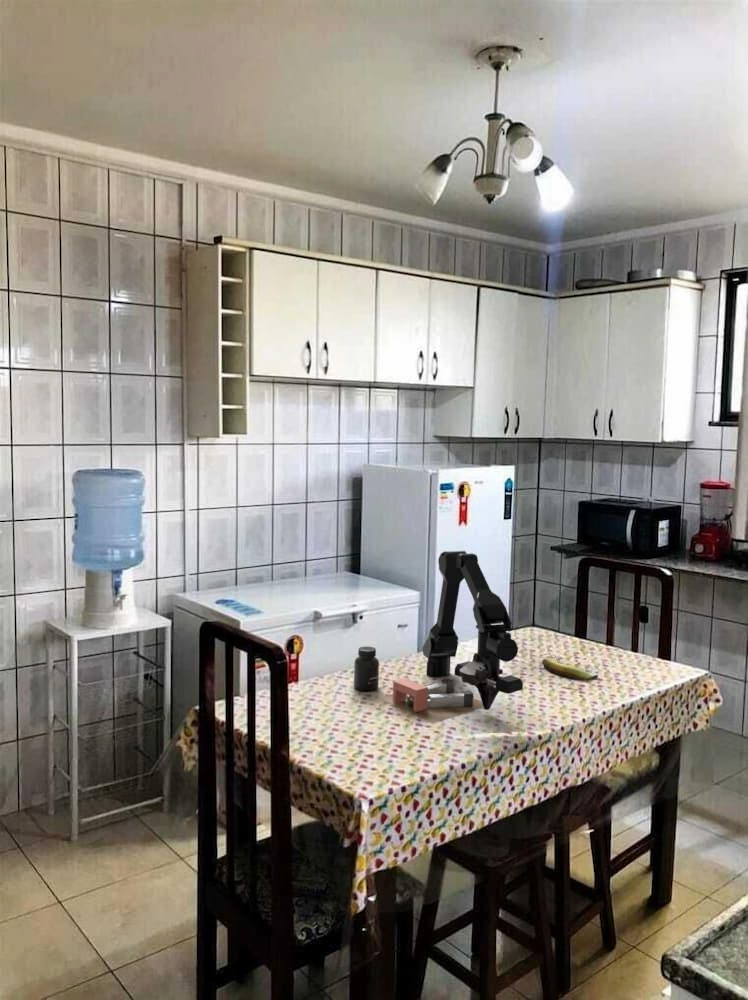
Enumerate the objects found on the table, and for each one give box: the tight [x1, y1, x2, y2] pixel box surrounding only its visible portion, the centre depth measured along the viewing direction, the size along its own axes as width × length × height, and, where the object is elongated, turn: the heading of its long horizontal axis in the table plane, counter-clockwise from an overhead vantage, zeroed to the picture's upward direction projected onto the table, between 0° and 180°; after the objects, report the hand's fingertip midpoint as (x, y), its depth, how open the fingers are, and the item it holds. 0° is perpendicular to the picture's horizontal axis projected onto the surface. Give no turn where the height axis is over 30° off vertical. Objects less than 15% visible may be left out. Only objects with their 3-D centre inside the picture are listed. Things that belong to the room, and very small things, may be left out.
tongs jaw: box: [428, 689, 474, 708], centre depth 217 cm, size 15×3×3 cm, turn 100°
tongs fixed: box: [407, 677, 455, 707], centre depth 222 cm, size 16×4×4 cm, turn 130°
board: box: [376, 682, 484, 724], centre depth 221 cm, size 21×22×1 cm
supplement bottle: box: [353, 646, 380, 693], centre depth 230 cm, size 7×7×12 cm
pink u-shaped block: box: [392, 677, 428, 712], centre depth 216 cm, size 4×9×6 cm, turn 40°
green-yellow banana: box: [506, 653, 599, 692], centre depth 249 cm, size 35×27×4 cm
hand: (486, 709), depth 213 cm, fingers closed
